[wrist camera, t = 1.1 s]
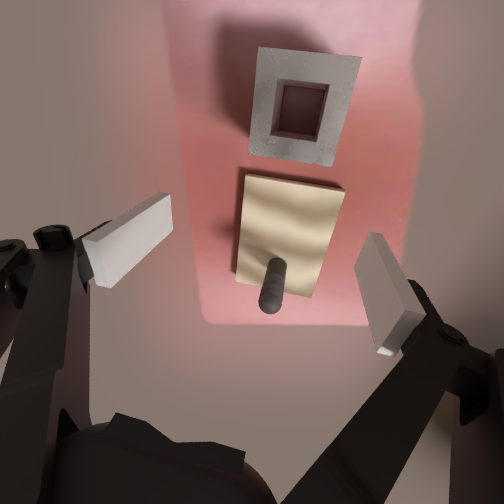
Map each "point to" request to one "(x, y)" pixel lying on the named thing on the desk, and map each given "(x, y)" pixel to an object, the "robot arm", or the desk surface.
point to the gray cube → (307, 76)
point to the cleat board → (284, 236)
